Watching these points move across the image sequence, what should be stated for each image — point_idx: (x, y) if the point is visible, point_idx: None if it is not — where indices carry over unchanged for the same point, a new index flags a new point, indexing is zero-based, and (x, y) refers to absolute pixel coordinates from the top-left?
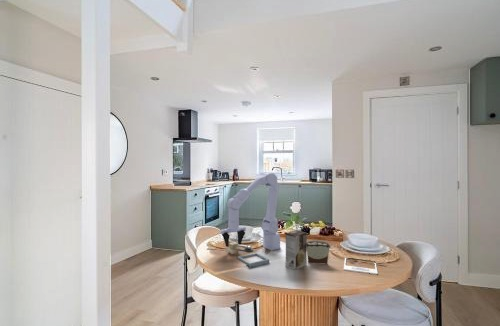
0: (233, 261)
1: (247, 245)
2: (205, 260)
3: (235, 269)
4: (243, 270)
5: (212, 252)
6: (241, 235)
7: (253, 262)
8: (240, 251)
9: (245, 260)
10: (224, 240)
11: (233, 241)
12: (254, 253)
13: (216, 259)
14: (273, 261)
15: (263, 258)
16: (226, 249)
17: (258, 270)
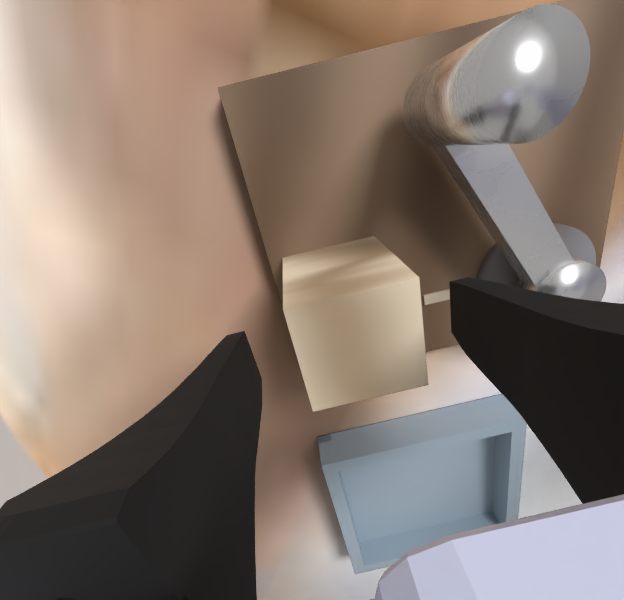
0: (279, 445)
1: (572, 265)
2: (14, 380)
3: (258, 549)
4: (301, 563)
5: (67, 122)
6: (581, 499)
7: (387, 564)
8: (425, 280)
9: (350, 535)
10: (179, 391)
11: (439, 116)
12: (499, 426)
13: (131, 378)
14: (543, 488)
15: (501, 494)
16: (280, 134)
17: (381, 570)
